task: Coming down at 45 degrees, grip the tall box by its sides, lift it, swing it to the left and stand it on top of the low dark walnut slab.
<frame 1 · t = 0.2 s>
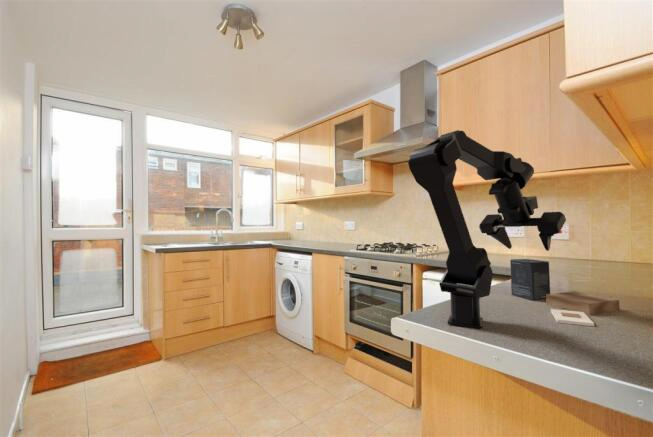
hand: (528, 248, 82), 14 cm above the worktop, tool tilted 35°, fingers open, 9 cm apart
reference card: (570, 318, 67), on the worktop
walnut slab: (581, 307, 75), on the worktop
box: (530, 298, 86), on the worktop
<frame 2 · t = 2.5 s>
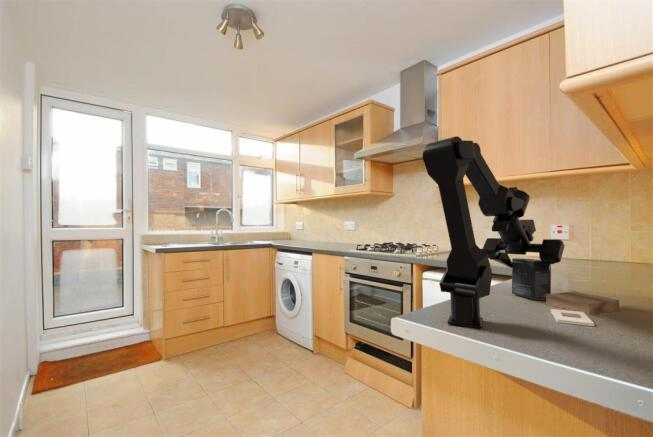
hand: (529, 268, 86), 8 cm above the worktop, tool tilted 45°, fingers closed on box, 9 cm apart
box: (530, 297, 86), on the worktop, touching gripper
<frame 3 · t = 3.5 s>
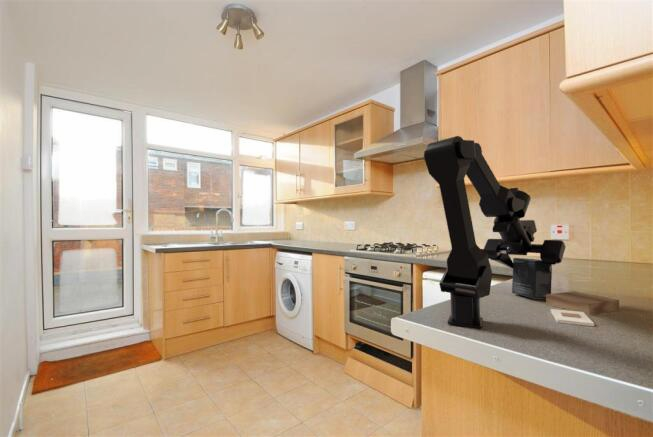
hand: (530, 268, 87), 8 cm above the worktop, tool tilted 45°, fingers closed on box, 9 cm apart
box: (530, 297, 86), on the worktop, touching gripper
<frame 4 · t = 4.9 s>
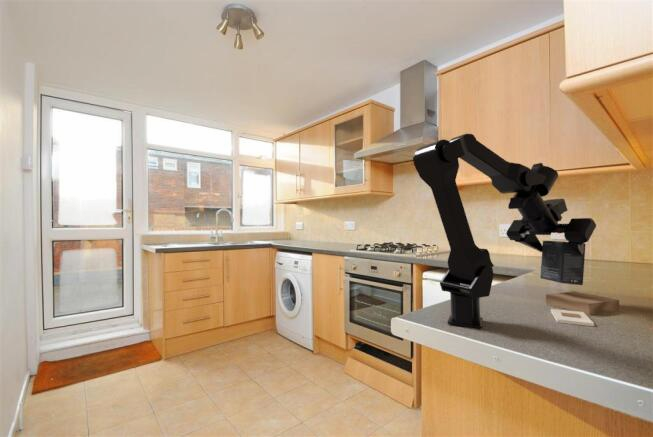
hand: (561, 252, 80), 13 cm above the worktop, tool tilted 45°, fingers closed on box, 9 cm apart
box: (560, 282, 80), point 5 cm above the worktop, touching gripper
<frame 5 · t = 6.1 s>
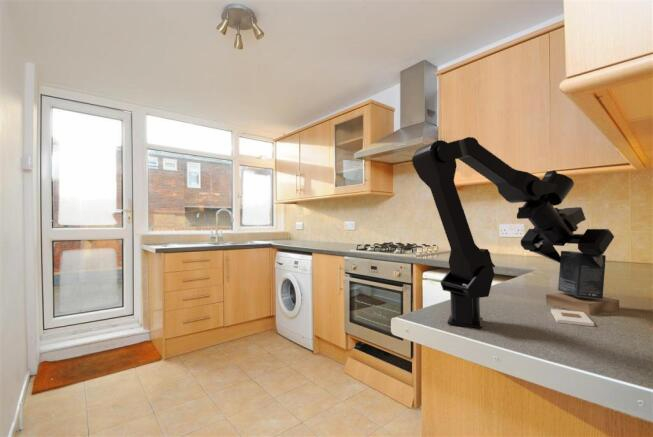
hand: (580, 263, 75), 11 cm above the worktop, tool tilted 45°, fingers closed on box, 9 cm apart
box: (578, 295, 75), point 3 cm above the worktop, touching gripper
when the fingers open (11 cm above the worktop, at t = 6.9 s): box stays where it is, resting on walnut slab.
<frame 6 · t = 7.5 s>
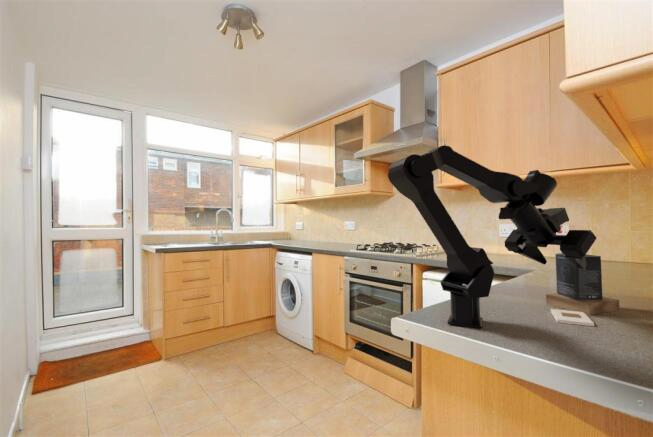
hand: (563, 265, 74), 11 cm above the worktop, tool tilted 45°, fingers open, 9 cm apart
box: (578, 297, 75), point 2 cm above the worktop, touching walnut slab
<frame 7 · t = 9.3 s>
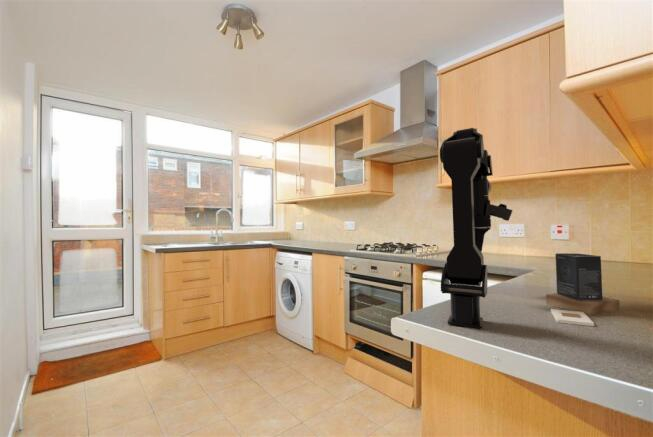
hand: (479, 249, 89), 13 cm above the worktop, tool pointing down, fingers open, 9 cm apart
nothing on the worktop moved.
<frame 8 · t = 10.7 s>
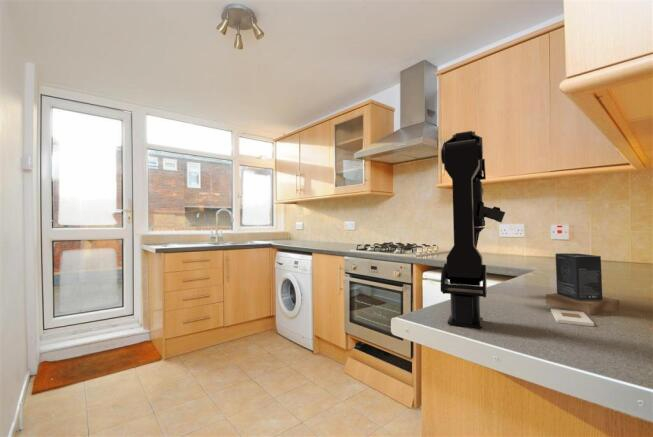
hand: (473, 251, 90), 13 cm above the worktop, tool pointing down, fingers open, 9 cm apart
nothing on the worktop moved.
at the end: box inside the target area on the walnut slab (0.5 cm from its centre), point 2.3 cm above the walnut slab's base; box touching walnut slab; box tilted 0° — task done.
